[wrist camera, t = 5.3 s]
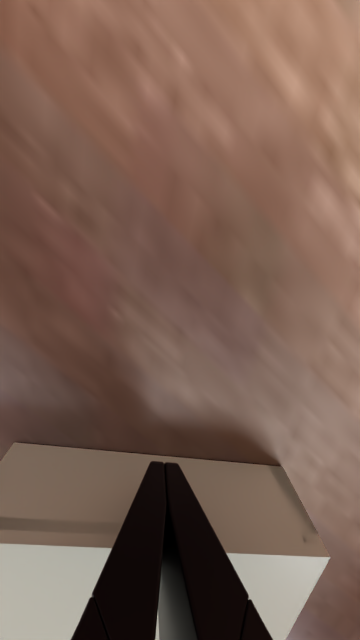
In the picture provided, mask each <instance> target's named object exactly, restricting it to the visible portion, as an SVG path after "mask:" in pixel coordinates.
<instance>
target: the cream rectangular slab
mask: <svg viewBox="0 0 360 640" xmlns="http://www.w3.org/2000/svg"><path fill="white" fill-rule="evenodd" d="M151 461H161V462H163V463H166V462H172V463H178V464H179V466H180V468H181V469H182V471H183V473H184V475H185V477H186V479H187V481H188V483H189V484H190V486H191V488H192V490H193V492H194V494H195V496H196V497H197V499H198V501H199V503H200V505H201V507H202V509H203V511H204V512H205V514H206V516H207V518H208V520H209V522H210V524H211V526H212V527H213V529H214V531H215V533H216V535H217V537H218V539H219V540H220V542H221V544H222V546H223V548H224V550H225V552H226V554H227V555H228V557H229V559H230V561H231V563H232V565H233V567H234V568H235V570H236V572H237V574H238V576H239V578H240V580H241V582H242V583H243V585H244V587H245V589H246V591H247V593H248V595H249V599H251V600H252V602H253V604H254V606H255V607H256V609H257V611H258V613H259V615H260V617H261V619H262V621H263V622H264V624H265V626H266V628H267V630H268V631H269V633H270V635H271V637H272V638H273V640H285V639H286V638H287V636H288V634H289V632H290V630H291V628H292V627H293V625H294V623H295V621H296V619H297V618H298V616H299V614H300V612H301V610H302V608H303V607H304V605H305V603H306V601H307V599H308V598H309V596H310V594H311V592H312V590H313V589H314V587H315V585H316V583H317V581H318V579H319V578H320V576H321V574H322V572H323V570H324V569H325V567H326V565H327V563H328V561H329V559H330V558H331V557H330V555H329V554H328V552H327V550H326V548H325V546H324V544H323V542H322V540H321V538H320V537H319V535H318V533H317V531H316V529H315V527H314V525H313V523H312V521H311V520H310V518H309V516H308V514H307V512H306V510H305V508H304V506H303V504H302V503H301V501H300V499H299V497H298V495H297V493H296V491H295V489H294V487H293V486H292V484H291V482H290V480H289V478H288V476H287V474H286V472H285V470H284V469H283V467H280V466H269V465H258V464H247V463H236V462H225V461H214V460H203V459H192V458H181V457H170V456H159V455H148V454H137V453H125V452H114V451H103V450H92V449H81V448H70V447H59V446H48V445H37V444H26V443H15V442H14V443H13V445H12V446H11V447H10V449H9V450H8V452H7V453H6V454H5V456H4V457H3V459H2V460H1V461H0V640H71V638H72V636H73V634H74V631H75V629H76V627H77V625H78V623H79V621H80V619H81V616H82V614H83V612H84V609H85V607H86V605H87V603H88V600H89V598H90V597H92V592H93V590H94V587H95V585H96V583H97V581H98V578H99V576H100V574H101V572H102V569H103V567H104V565H105V563H106V560H107V558H108V556H109V554H110V551H111V549H112V547H113V545H114V542H115V540H116V538H117V536H118V533H119V531H120V529H121V527H122V524H123V522H124V520H125V518H126V515H127V513H128V511H129V509H130V506H131V504H132V502H133V500H134V497H135V495H136V493H137V491H138V488H139V486H140V484H141V482H142V479H143V477H144V475H145V473H146V470H147V468H148V466H149V464H150V462H151ZM249 599H248V600H249ZM155 640H159V620H158V615H157V626H156V638H155Z"/></svg>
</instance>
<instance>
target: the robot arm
mask: <svg viewBox="0 0 360 640" xmlns="http://www.w3.org/2000/svg"><path fill="white" fill-rule="evenodd" d="M248 599H249V595H248V593H247V591H246V589H245V587H244V585H243V583H242V582H241V580H240V578H239V576H238V574H237V572H236V570H235V568H234V567H233V565H232V563H231V561H230V559H229V557H228V555H227V554H226V552H225V550H224V548H223V546H222V544H221V542H220V540H219V539H218V537H217V535H216V533H215V531H214V529H213V527H212V526H211V524H210V522H209V520H208V518H207V516H206V514H205V512H204V511H203V509H202V507H201V505H200V503H199V501H198V499H197V497H196V496H195V494H194V492H193V490H192V488H191V486H190V484H189V483H188V481H187V479H186V477H185V475H184V473H183V471H182V469H181V468H180V466H179V464H178V463H172V462H166V463H163V462H161V461H151V462H150V464H149V466H148V468H147V470H146V473H145V475H144V477H143V479H142V482H141V484H140V486H139V488H138V491H137V493H136V495H135V497H134V500H133V502H132V504H131V506H130V509H129V511H128V513H127V515H126V518H125V520H124V522H123V524H122V527H121V529H120V531H119V533H118V536H117V538H116V540H115V542H114V545H113V547H112V549H111V551H110V554H109V556H108V558H107V560H106V563H105V565H104V567H103V569H102V572H101V574H100V576H99V578H98V581H97V583H96V585H95V587H94V590H93V592H92V597H90V598H89V600H88V603H87V605H86V607H85V609H84V612H83V614H82V616H81V619H80V621H79V623H78V625H77V627H76V629H75V631H74V634H73V636H72V638H71V640H155V638H156V626H157V615H158V620H159V640H273V638H272V637H271V635H270V633H269V631H268V630H267V628H266V626H265V624H264V622H263V621H262V619H261V617H260V615H259V613H258V611H257V609H256V607H255V606H254V604H253V602H252V600H251V599H249V600H248Z"/></svg>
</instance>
